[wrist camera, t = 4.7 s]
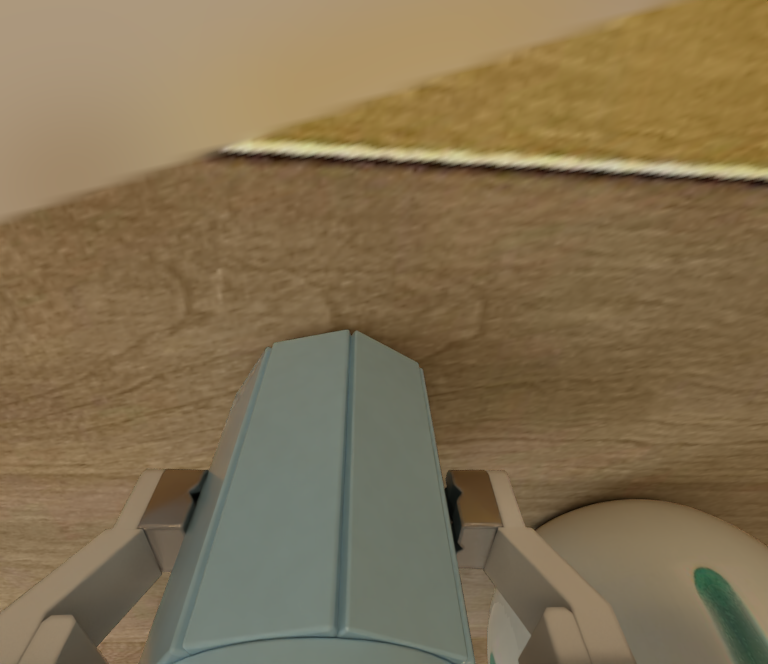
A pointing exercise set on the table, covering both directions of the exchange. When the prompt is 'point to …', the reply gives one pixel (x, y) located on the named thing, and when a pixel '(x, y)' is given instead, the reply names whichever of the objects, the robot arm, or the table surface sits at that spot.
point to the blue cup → (320, 522)
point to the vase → (659, 583)
